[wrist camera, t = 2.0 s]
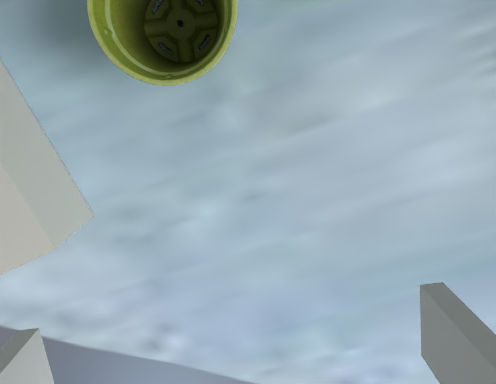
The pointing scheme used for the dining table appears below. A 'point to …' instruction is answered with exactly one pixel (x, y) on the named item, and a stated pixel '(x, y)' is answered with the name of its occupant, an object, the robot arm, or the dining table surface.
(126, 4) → the plant pot
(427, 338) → the robot arm
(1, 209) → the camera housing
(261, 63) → the dining table surface
